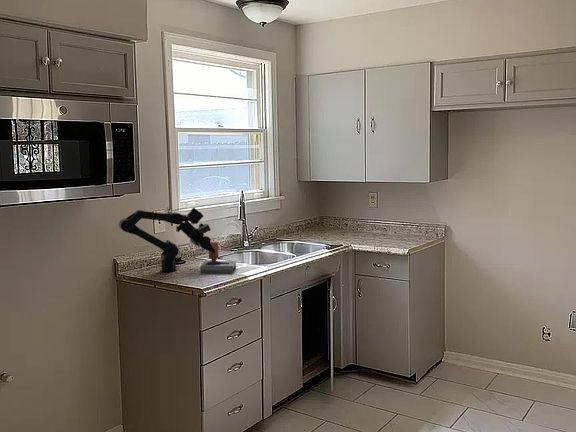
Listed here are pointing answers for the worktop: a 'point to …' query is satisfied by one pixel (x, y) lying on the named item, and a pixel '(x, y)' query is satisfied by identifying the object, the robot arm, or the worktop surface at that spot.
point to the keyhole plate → (217, 267)
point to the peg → (214, 255)
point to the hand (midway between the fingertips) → (211, 250)
